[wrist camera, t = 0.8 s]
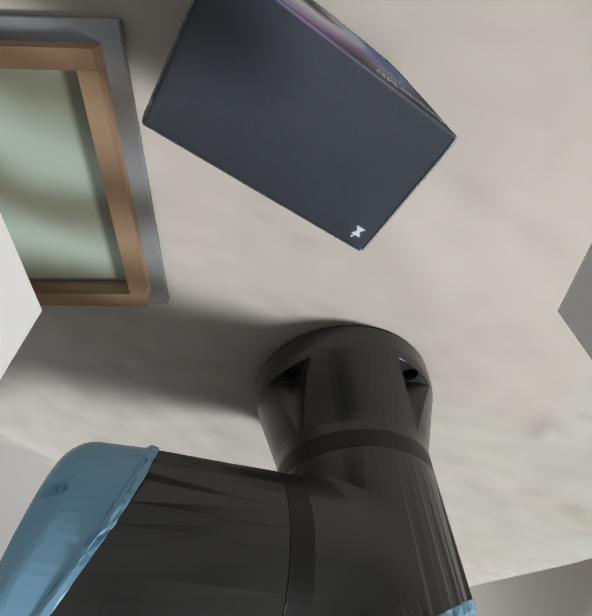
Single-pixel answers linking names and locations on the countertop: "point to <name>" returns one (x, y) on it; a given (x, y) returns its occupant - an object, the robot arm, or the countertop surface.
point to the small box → (298, 112)
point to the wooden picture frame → (75, 164)
